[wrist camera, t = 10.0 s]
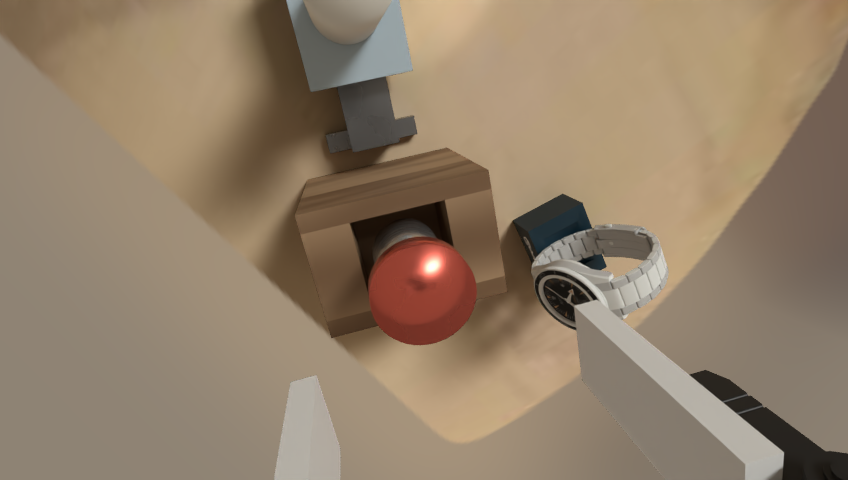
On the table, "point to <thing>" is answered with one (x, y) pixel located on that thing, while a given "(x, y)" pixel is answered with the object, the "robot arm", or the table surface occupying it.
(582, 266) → the watch
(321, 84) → the carriage
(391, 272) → the button plunger
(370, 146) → the rail
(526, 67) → the table surface
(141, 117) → the table surface
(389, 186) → the wooden button housing
